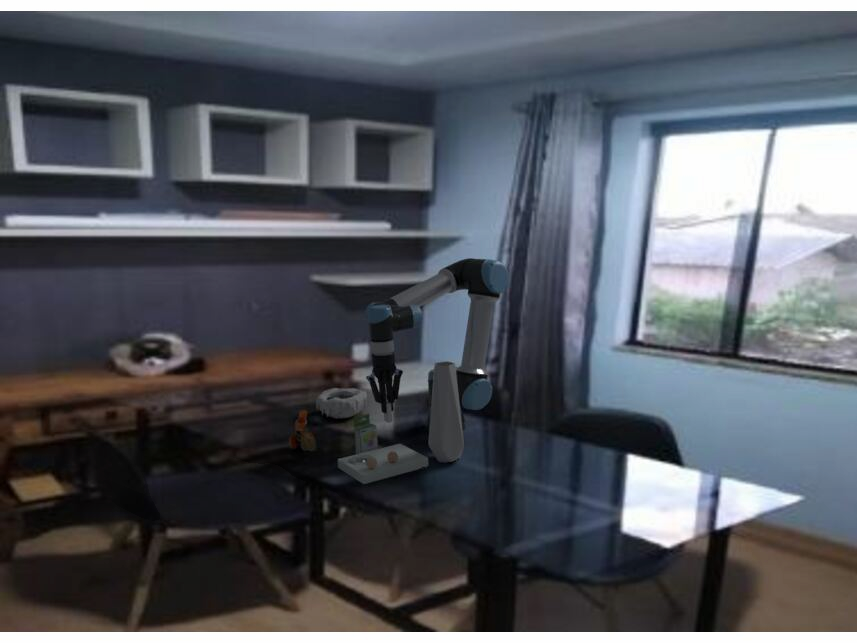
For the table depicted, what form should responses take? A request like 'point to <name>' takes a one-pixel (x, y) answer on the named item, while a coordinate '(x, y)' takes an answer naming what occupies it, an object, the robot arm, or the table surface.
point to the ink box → (365, 435)
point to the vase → (445, 414)
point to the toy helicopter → (302, 434)
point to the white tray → (382, 463)
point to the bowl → (341, 402)
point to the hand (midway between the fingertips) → (388, 421)
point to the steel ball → (361, 461)
